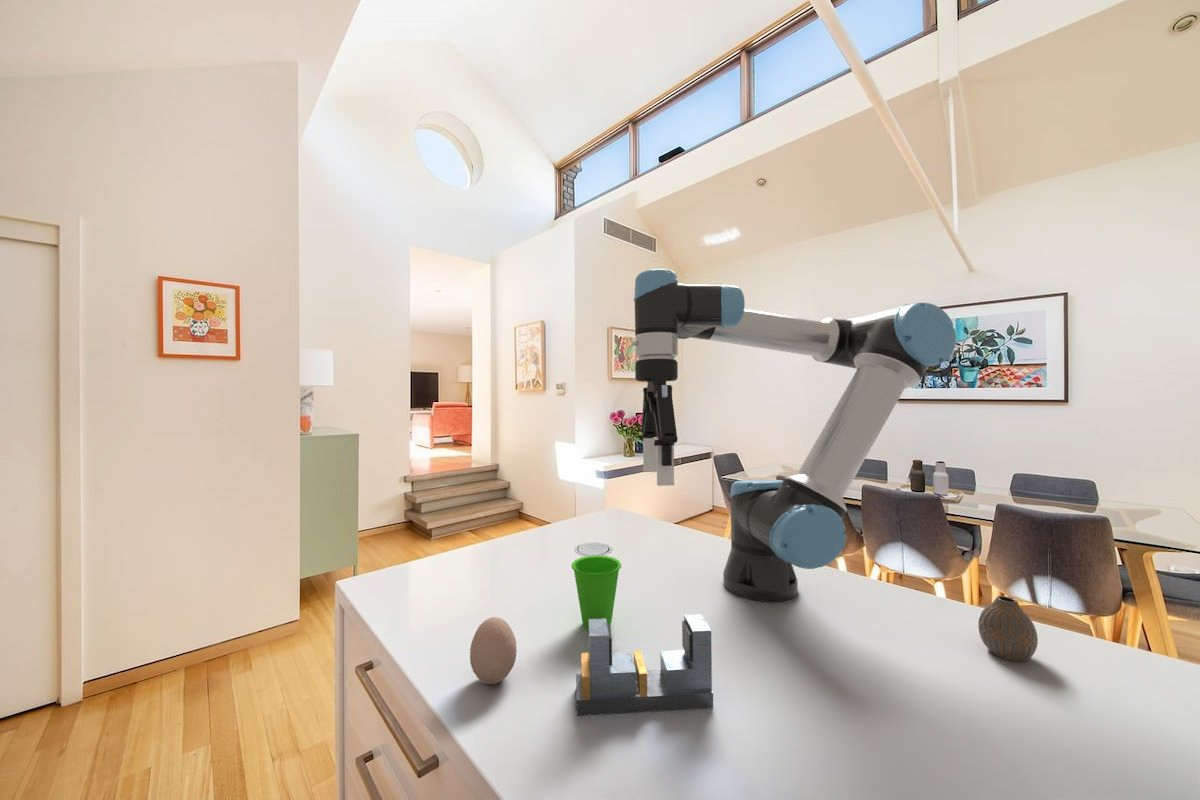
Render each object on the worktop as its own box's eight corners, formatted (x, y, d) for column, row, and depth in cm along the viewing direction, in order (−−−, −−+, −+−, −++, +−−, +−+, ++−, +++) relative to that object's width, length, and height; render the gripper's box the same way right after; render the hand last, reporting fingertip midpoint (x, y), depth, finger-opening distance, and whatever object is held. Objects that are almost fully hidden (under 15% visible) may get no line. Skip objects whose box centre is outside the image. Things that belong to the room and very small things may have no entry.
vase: (1025, 672, 66) (1025, 613, 66) (970, 649, 72) (969, 595, 72) (1046, 659, 69) (1045, 602, 69) (990, 638, 75) (990, 586, 75)
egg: (480, 666, 69) (479, 607, 69) (522, 668, 68) (521, 608, 68) (462, 694, 62) (462, 629, 62) (509, 697, 62) (508, 631, 62)
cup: (617, 639, 76) (616, 575, 76) (566, 634, 78) (565, 571, 78) (625, 614, 85) (624, 556, 85) (578, 610, 87) (578, 553, 87)
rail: (701, 681, 64) (700, 612, 64) (713, 708, 59) (712, 632, 59) (576, 688, 63) (575, 617, 63) (576, 715, 58) (576, 638, 58)
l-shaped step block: (631, 673, 63) (630, 617, 63) (636, 694, 59) (635, 634, 59) (589, 675, 63) (588, 619, 63) (590, 697, 58) (589, 636, 58)
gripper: (626, 364, 92) (627, 467, 92) (647, 351, 67) (648, 492, 67) (662, 364, 93) (663, 466, 93) (696, 351, 68) (697, 491, 68)
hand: (657, 478), depth 80 cm, fingers open, 13 cm apart
